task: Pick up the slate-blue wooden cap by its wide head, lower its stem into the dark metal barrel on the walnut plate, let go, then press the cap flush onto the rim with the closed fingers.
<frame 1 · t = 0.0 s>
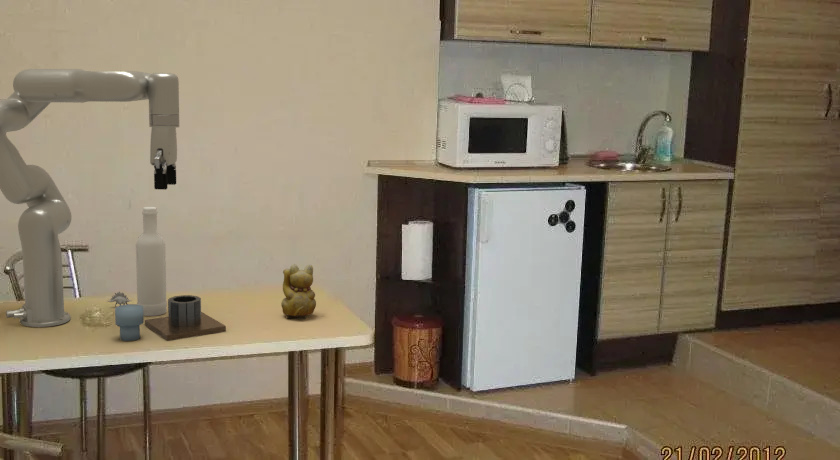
hand: (165, 186, 229), 37 cm above the table, tool pointing down, fingers open, 9 cm apart
decorative figurine: (298, 318, 245), on the table
cap: (130, 338, 222), on the table
stegosaurus: (119, 308, 249), on the table
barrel: (185, 328, 231), on the table
bottle: (152, 313, 245), on the table
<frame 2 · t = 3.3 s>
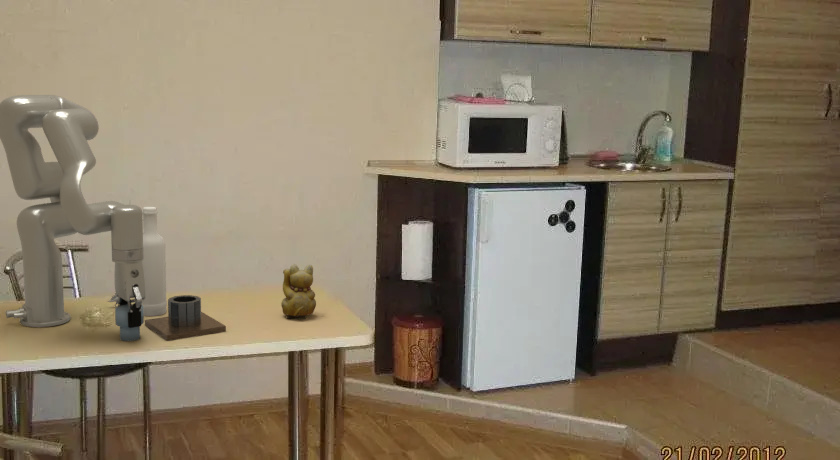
hand: (129, 322, 221), 4 cm above the table, tool pointing down, fingers closed on cap, 6 cm apart
cap: (130, 338, 222), on the table, touching gripper
everything else where it was.
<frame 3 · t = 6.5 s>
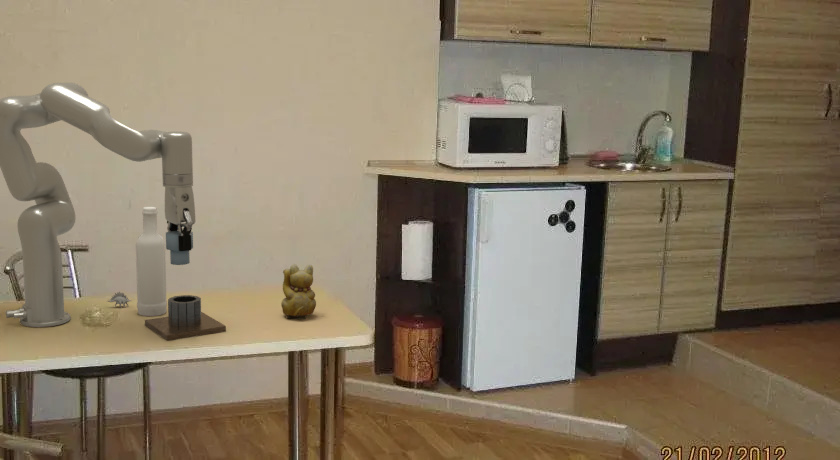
hand: (179, 247, 227), 22 cm above the table, tool pointing down, fingers closed on cap, 6 cm apart
cap: (180, 262, 227), point 18 cm above the table, touching gripper
everything else where it was.
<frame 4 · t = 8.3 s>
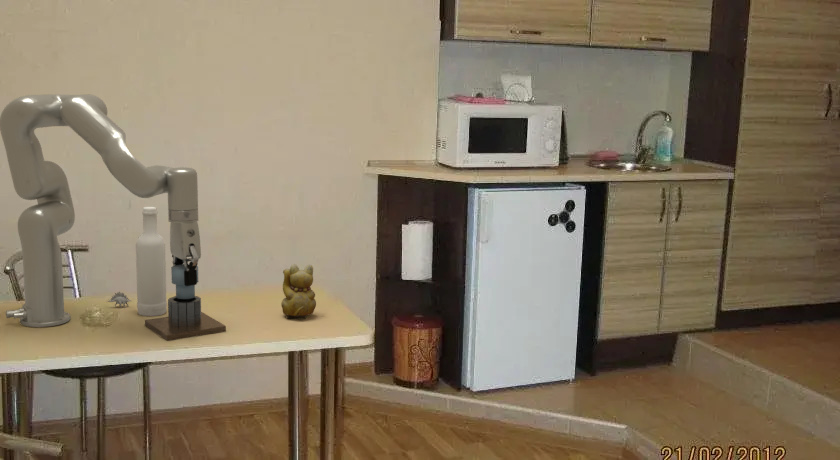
hand: (185, 281, 229), 13 cm above the table, tool pointing down, fingers closed on cap, 6 cm apart
cap: (185, 296, 230), point 9 cm above the table, touching gripper
everything else where it was.
when the fingers open (9 cm above the table, at t = 9.6 s): cap stays where it is, resting on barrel.
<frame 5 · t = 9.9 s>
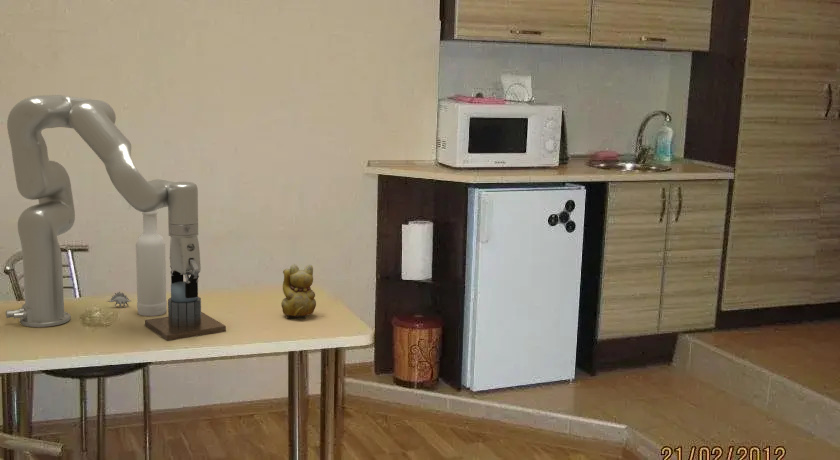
hand: (184, 293, 230), 10 cm above the table, tool pointing down, fingers open, 9 cm apart
cap: (184, 313, 231), point 4 cm above the table, touching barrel
everything else where it was.
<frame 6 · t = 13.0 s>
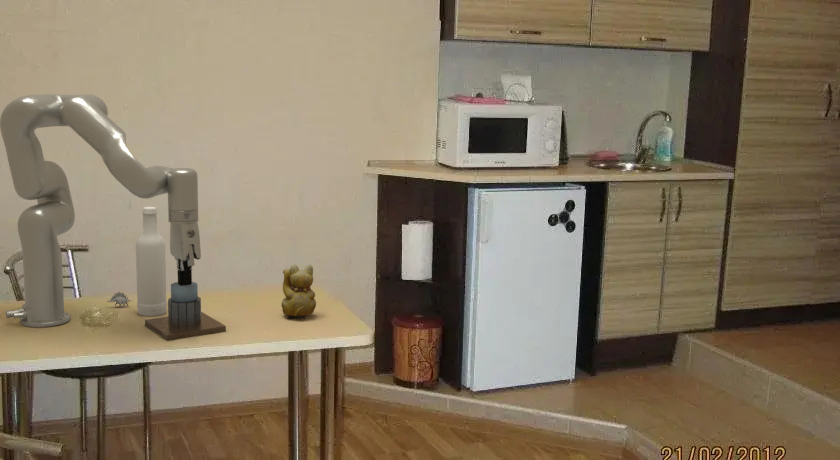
hand: (184, 284, 229), 12 cm above the table, tool pointing down, fingers closed
cap: (184, 313, 231), point 4 cm above the table, touching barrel, gripper
everything else where it was.
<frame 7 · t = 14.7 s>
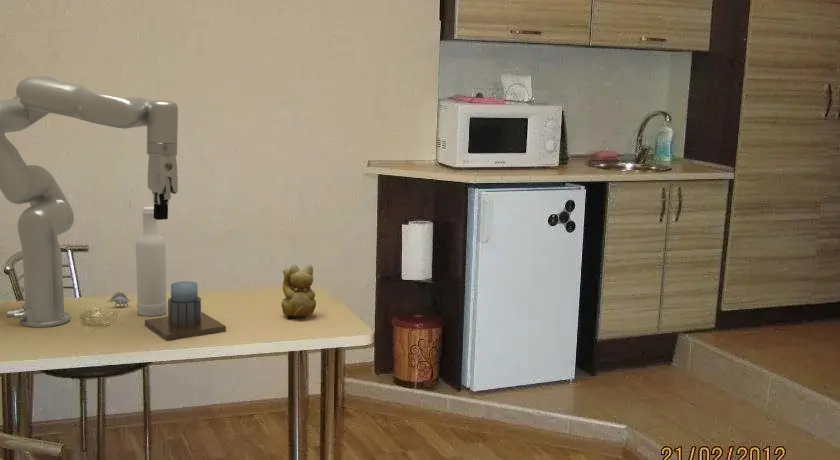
hand: (160, 218, 227), 29 cm above the table, tool pointing down, fingers closed
cap: (184, 313, 231), point 4 cm above the table, touching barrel
everything else where it was.
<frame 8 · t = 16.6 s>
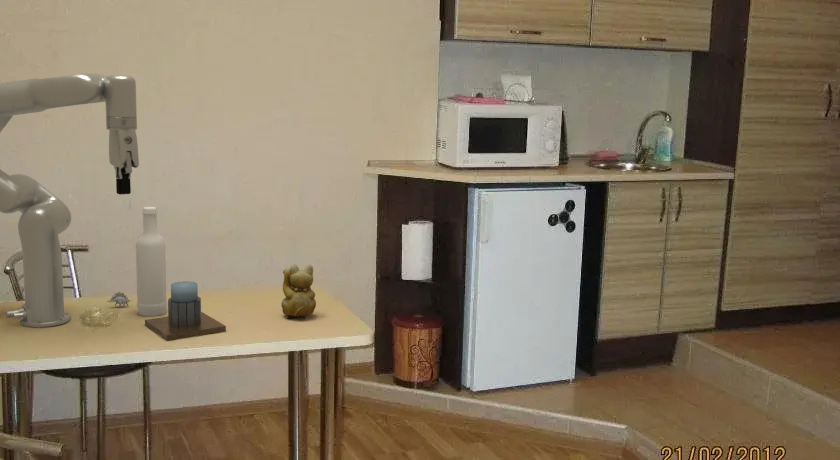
hand: (123, 193, 229), 35 cm above the table, tool pointing down, fingers closed
nothing on the table moved.
at the end: cap 0.0 cm off-centre on the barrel, point 4.0 cm above the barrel's base; cap tilted 0°; the gripper is holding nothing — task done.
